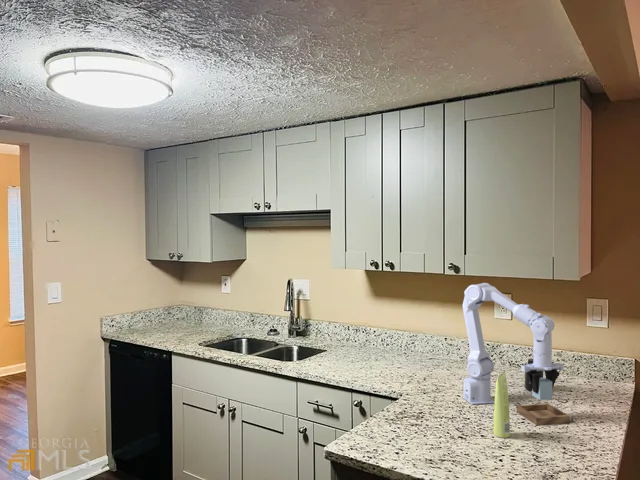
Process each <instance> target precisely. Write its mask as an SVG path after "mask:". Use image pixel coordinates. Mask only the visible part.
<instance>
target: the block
mask: <svg viewBox="0 0 640 480" xmlns="http://www.w3.org/2000/svg"><path fill="white" fill-rule="evenodd" d="M531 393H532V394H531V395H532V396H533V397H534V398H536V399H538V400H539V401H543V400H544V401H545V400H546V401H547V400H553V390H552V381H550V380H548V379H546V377H543V378H540V379H539V391H538V393H535V392H533V389H532V391H531Z"/></svg>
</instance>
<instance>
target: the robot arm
mask: <svg viewBox="0 0 640 480" xmlns="http://www.w3.org/2000/svg"><path fill="white" fill-rule="evenodd" d="M463 293H464V297H463V302H462V312H463V318H464V323H465V330H466V334H467V339H468V345H469V351H470V352H469V355H468V356H467V366H466V371H467V374H468V375H469V376H468V377H465V378H463V386H462V387H463V389H462V391H463V392H462V393H463V395H462V398H463V399H464V400H465V401H467V402H468V404H470V405H482V404H484V405H485V404H486V405H487V404H494V401H495V399H493V398H491V394H492V393H491V391H492V390H491V386H492V385H491V383H492V382H491V380H492V379H491V375H492V374H491V373H492V372H493V371H494V367H495V364H494V362H493V360H492V359H491V355H490V353H489V352H488V351H487V350H486V346H485V341H484V340H485V339H484V335H483V330H482V323H481V319H480V313H479V308H480V307H481V306H482V304H484V303H485V302H494V303H496V304H497V305H499V306H501V307H502V308H505V309H506V310H507V311H510V312H511V313H512V315H513V318H514V319H517V320H518V321H519V322H521V323H522V324H524V325H525V326H527V327H528V328H530V330H531V332H532V335H533V341H532V342H533V343H532V344H533V346H532V347H533V350H532V351H533V352H532V353H533V354H532V355H533V358H532V359H533V363H532V364H528V363H527V364H521V366H520V369H521V370H520V371H521V372H523V373H525V372H526V373H527V375H528V377H529V379H530V382H531V385H532V389H533V392H535V393H538V391H539V379H540V376H541V375H540V374H538V372H537V371H543V372H544V375H545V378H546V379H548V380H550V381H552V391H553V390H554V385H555V383H556V381H557V379H558V378H559V376H560V371H564V368H565V366H564V364H562V363H560V362H559V363H557V362H553V363H552V360H553V354H552V352H553V351H552V350H553V347H552V346H553V344H552V343H553V342H552V340H553V339H552V338H553V337H552V334H553V333H552V332H553V331H554V329H555V322H554V320H553V319H552V318H551V317H550V316H547V315H543V314H542V313H540V312H537V311H536V310H534V309H532V308H530V305H529V304H528V303H527V304H525V303H521V304H518V302H517V303H516V302H515V301H513V300H512V299H511V298H510V297H508V296H507V295H505V294H504V293H502V292H501V291H500V290H498V289H497V287H495V286H493V285H491V284H489V283H488V282H482V283H477V284H470V285H468V286H467V288H466V289H465V290H464V291H463Z"/></svg>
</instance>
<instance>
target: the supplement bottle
mask: <svg viewBox="0 0 640 480" xmlns="http://www.w3.org/2000/svg"><path fill="white" fill-rule="evenodd" d="M532 363H533V358H528V359H527V364H532ZM537 372H538V374H540V375H541V376H540V378H544V371H537ZM524 388H525V390H526V391H529V392H532V385H531V382H530V379H529V377H528V375H527V373H526V372H524Z"/></svg>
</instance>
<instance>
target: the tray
mask: <svg viewBox="0 0 640 480" xmlns="http://www.w3.org/2000/svg"><path fill="white" fill-rule="evenodd" d="M516 412H517V414H519V415H520V416H522V417H524V418H525V419H526V420H527V421H529V422H531V423H532V424H533V425H535V426H544V425H545V426H547V425H558V424H559V425H560V424H562V425H563V424H570V422H571V419H570V418H571V417H570V415H569V414H567V413H565V412H564V411H562V410H560V409H558V408H557V407H555V406H553V405H552V404H549V403H548V402H547V403H535V404H534V403H533V404H520V405H519V404H517V405H516Z"/></svg>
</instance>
